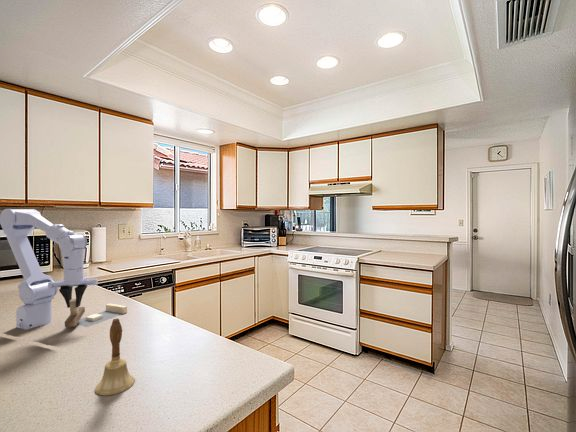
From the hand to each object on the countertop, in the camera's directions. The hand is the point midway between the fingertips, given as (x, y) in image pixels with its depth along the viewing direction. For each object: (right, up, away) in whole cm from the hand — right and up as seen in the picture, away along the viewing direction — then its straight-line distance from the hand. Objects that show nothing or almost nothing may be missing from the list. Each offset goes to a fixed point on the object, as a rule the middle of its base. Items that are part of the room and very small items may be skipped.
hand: (73, 306), depth 105 cm
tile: (+3, -7, +7) cm, 10 cm away
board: (+3, -8, +9) cm, 12 cm away
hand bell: (+35, -9, -34) cm, 50 cm away
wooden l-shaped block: (0, -5, +1) cm, 5 cm away
